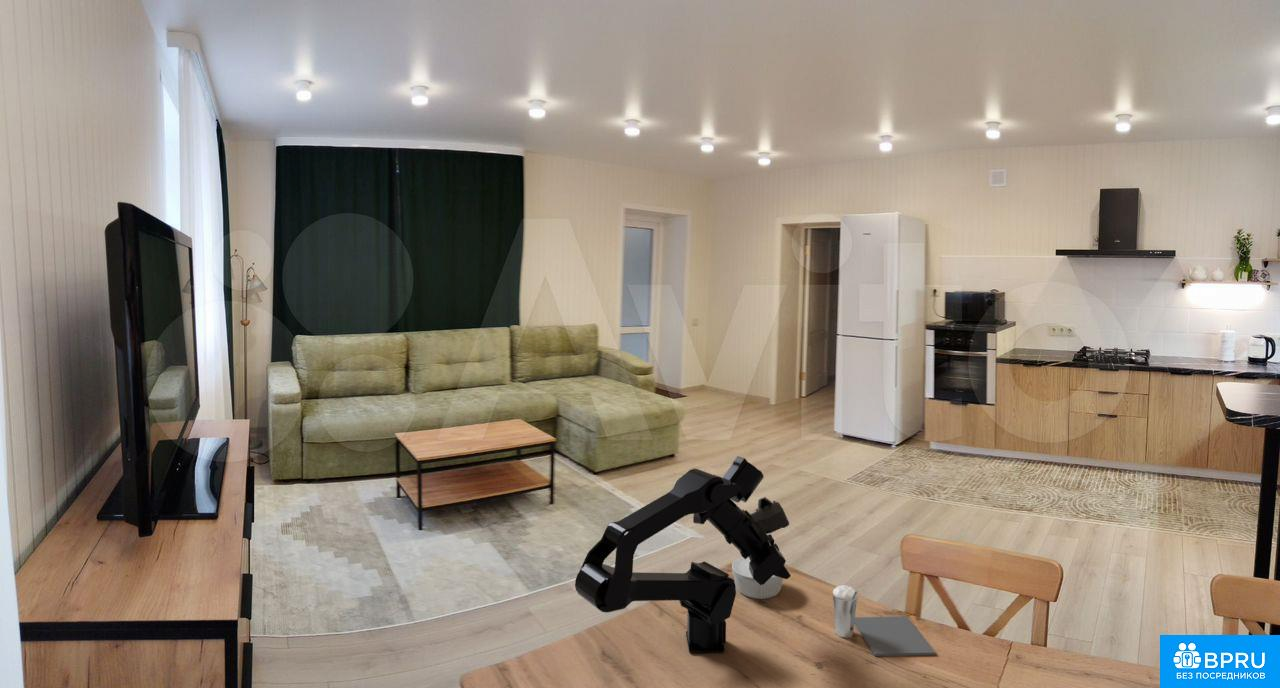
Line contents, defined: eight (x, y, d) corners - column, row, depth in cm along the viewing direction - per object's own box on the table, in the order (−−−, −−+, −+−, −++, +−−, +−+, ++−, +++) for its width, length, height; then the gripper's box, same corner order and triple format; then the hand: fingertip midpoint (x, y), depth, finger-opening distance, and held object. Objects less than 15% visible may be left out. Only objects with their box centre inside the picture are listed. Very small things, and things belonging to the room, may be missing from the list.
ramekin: (724, 594, 140) (724, 571, 139) (741, 572, 150) (742, 550, 149) (775, 607, 135) (776, 583, 134) (790, 583, 145) (790, 560, 144)
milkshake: (843, 644, 122) (845, 593, 120) (826, 629, 127) (828, 580, 125) (864, 639, 123) (866, 589, 122) (846, 624, 128) (848, 576, 127)
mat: (874, 656, 118) (875, 653, 118) (851, 619, 130) (851, 617, 130) (935, 655, 118) (935, 652, 118) (906, 618, 130) (906, 616, 130)
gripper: (774, 510, 112) (836, 570, 113) (751, 474, 130) (805, 527, 132) (728, 555, 112) (790, 614, 114) (711, 513, 131) (765, 565, 133)
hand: (788, 576), depth 123 cm, fingers closed
